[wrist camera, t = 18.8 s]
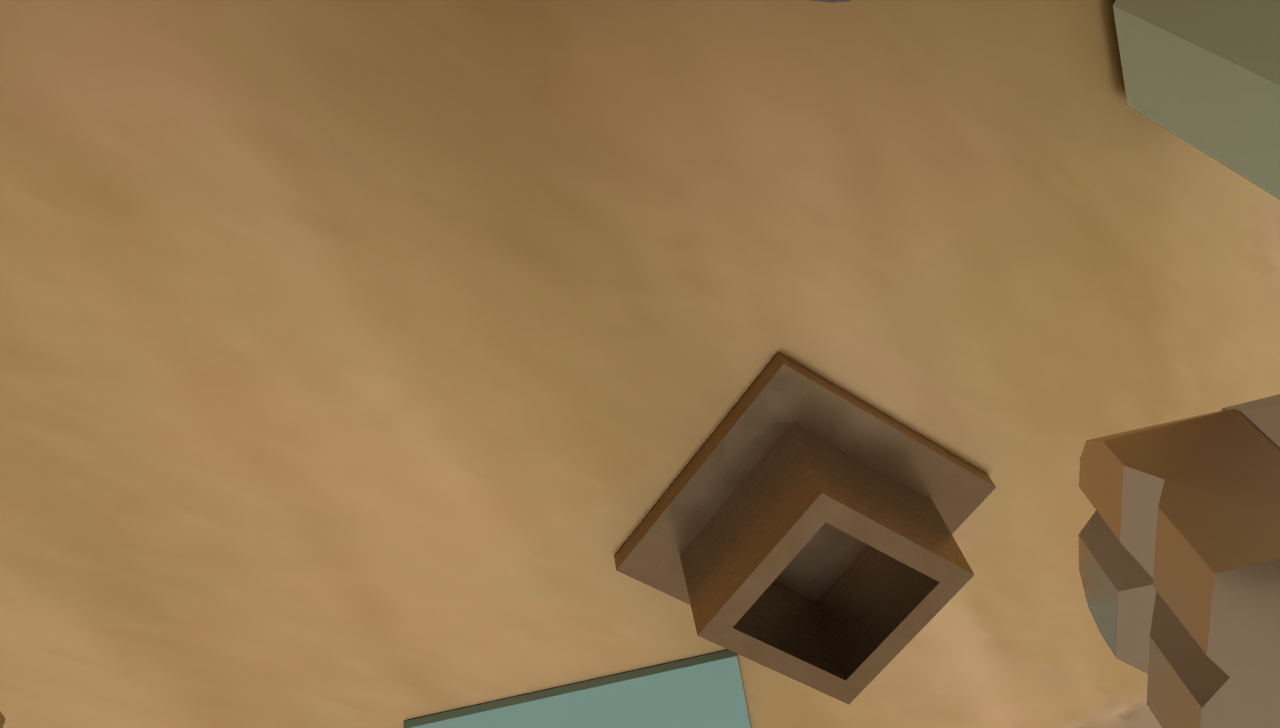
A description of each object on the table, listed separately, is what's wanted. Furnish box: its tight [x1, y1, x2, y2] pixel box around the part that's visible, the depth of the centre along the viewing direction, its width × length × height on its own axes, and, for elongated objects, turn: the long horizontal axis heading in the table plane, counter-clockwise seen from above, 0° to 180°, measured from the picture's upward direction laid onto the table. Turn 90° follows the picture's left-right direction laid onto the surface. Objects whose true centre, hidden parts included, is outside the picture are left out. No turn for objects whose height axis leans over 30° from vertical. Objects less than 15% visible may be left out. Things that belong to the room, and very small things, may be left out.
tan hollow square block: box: [614, 352, 996, 704], centre depth 49 cm, size 12×12×6 cm
